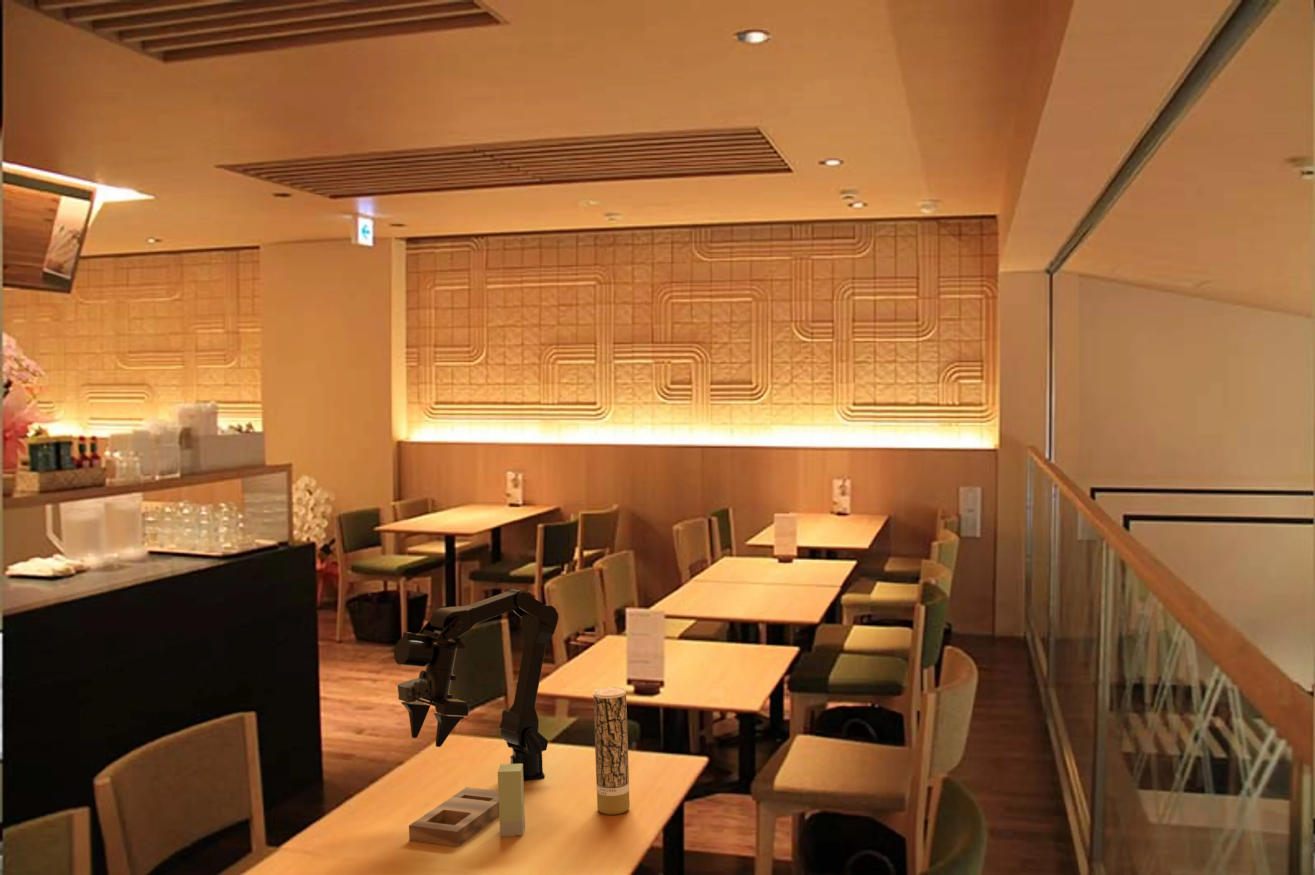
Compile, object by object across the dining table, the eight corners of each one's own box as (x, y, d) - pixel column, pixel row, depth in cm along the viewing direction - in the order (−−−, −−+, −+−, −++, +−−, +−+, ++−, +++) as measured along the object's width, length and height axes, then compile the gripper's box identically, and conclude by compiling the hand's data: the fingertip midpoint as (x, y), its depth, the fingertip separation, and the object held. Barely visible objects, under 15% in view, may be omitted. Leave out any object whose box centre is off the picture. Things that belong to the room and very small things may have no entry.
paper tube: (625, 816, 229) (621, 696, 228) (593, 815, 230) (589, 695, 229) (633, 804, 235) (629, 687, 234) (601, 803, 237) (598, 686, 236)
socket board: (466, 801, 240) (466, 787, 240) (512, 806, 237) (511, 792, 236) (409, 840, 220) (408, 825, 220) (457, 847, 216) (457, 831, 216)
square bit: (502, 827, 225) (500, 764, 224) (525, 827, 225) (522, 763, 224) (500, 836, 220) (497, 772, 220) (522, 835, 221) (520, 771, 220)
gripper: (384, 658, 240) (370, 732, 237) (432, 672, 226) (417, 750, 224) (427, 662, 247) (414, 734, 245) (476, 676, 234) (463, 752, 232)
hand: (426, 742), depth 236 cm, fingers open, 9 cm apart
